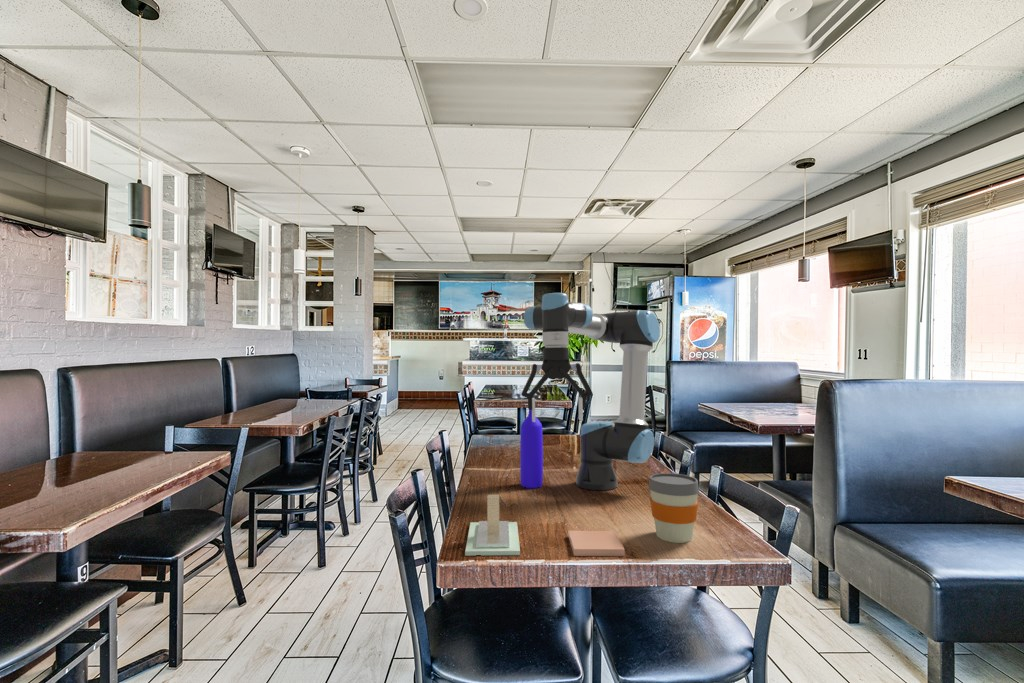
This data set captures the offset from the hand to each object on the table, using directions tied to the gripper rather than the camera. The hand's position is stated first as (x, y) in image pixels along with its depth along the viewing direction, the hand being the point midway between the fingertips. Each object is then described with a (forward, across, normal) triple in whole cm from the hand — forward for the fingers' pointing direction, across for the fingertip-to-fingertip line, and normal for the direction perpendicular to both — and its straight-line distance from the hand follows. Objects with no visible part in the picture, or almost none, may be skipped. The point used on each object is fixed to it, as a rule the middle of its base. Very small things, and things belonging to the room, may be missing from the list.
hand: (557, 420), depth 136 cm
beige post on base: (+27, -19, -13) cm, 35 cm away
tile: (+28, +7, -12) cm, 31 cm away
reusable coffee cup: (+29, +29, -12) cm, 43 cm away
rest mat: (+28, -19, -13) cm, 36 cm away
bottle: (+30, -6, +39) cm, 49 cm away
